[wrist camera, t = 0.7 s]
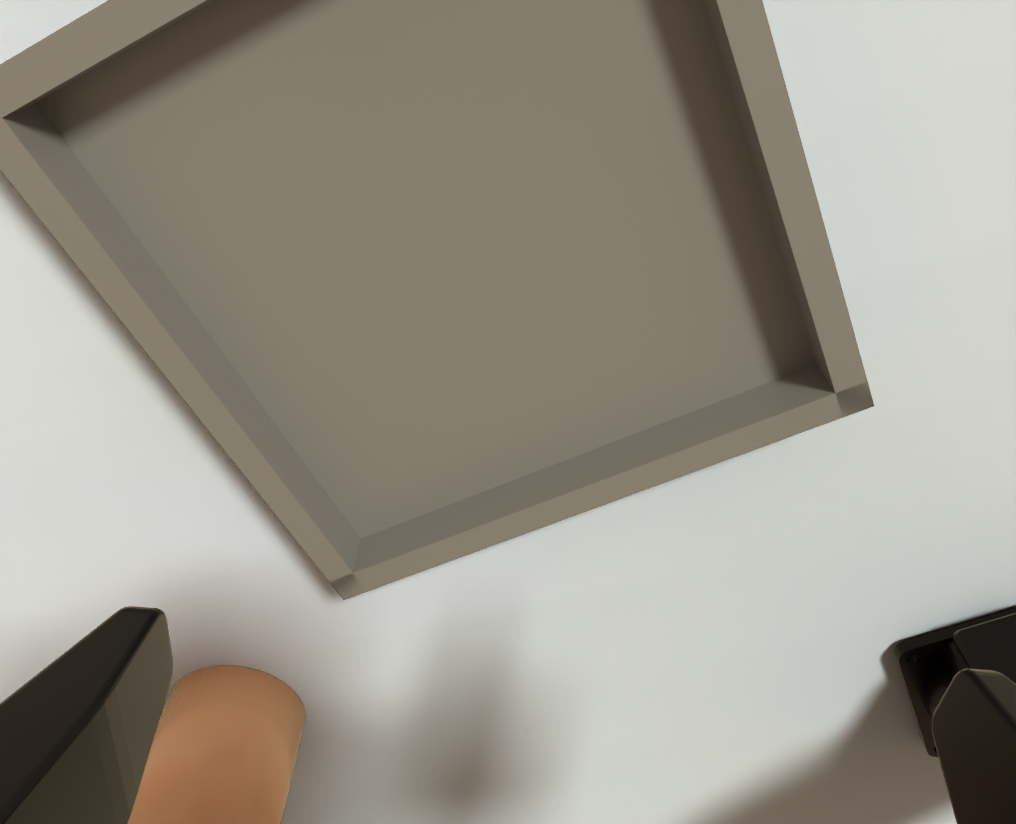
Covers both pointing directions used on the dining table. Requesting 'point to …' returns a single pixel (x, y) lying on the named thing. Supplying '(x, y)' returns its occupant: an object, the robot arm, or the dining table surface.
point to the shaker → (222, 750)
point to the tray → (444, 249)
